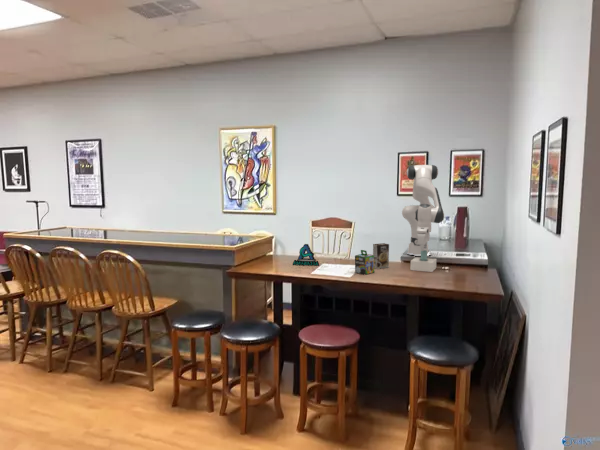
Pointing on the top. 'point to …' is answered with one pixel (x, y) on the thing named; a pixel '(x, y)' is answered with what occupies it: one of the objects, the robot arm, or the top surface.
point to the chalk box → (364, 263)
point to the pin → (424, 255)
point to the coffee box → (381, 255)
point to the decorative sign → (306, 261)
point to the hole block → (423, 264)
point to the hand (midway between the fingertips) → (423, 249)
